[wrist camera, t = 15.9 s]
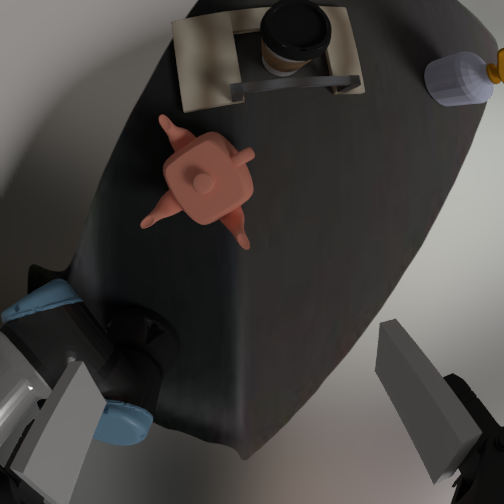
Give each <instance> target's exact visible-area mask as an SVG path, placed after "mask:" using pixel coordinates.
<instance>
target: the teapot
mask: <svg viewBox="0 0 504 504" xmlns="http://www.w3.org/2000/svg"><path fill="white" fill-rule="evenodd" d="M159 122H160V125H161V127H162V128H163V129H164V131H165V132H166V134H167V135H168V138H169V141H170V143H171V145H172V147H173V149H174V151H175V153H174V154H173V155H171V156H170V157H169V158H168V159H167V160H166V162H165V163H164V166H163V174H164V177H165V180H166V183H167V185H168V187H169V190H168V191H167V192H166V193H165V194H164V195H163V196H162V198H161V199H160V200H159V202H158V204H157V206H156V207H155V209H154V210H153V211H152V212H151V213H150V214H149V215H148V216H146V217H145V218H144V219H143V221H142V222H141V225H140V226H141V228H148V227H150V226H151V225H153V224H154V223H155V222H157V221H158V220H160V219H162V218H165V217H168V216H171V215H174V214H176V213H178V212H180V211H182V210H184V211H185V212H186V213H187V214H188V215H189V216H190V217H191V218H192V219H193V220H194V221H196V222H197V223H199V224H202V225H206V224H210V223H212V222H214V221H216V220H218V219H220V220H221V221H222V223H223V224H224V225H225V226H226V228H227V229H228V230H229V231H230V232H231V233H232V234H233V235H234V237H235V238H236V240H237V242H238V243H239V244H240V246H241V247H242V248H244V249H246V250H248V249H249V248H250V243H249V240H248V238H247V236H246V234H245V232H244V213H243V211H242V208H241V205H242V204H243V203H244V202H246V201H247V200H248V199H249V198H250V197H251V195H252V193H253V182H252V178H251V175H250V173H249V170H248V168H247V165H246V162H248V161H250V160H251V159H253V158H254V157H255V153H254V151H253V150H252V149H251V148H250V147H247V148H245V149H244V150H242V151H240V152H238V151H237V150H236V148H235V147H234V146H233V145H232V144H231V143H230V142H229V141H228V140H227V139H226V138H225V137H223V136H222V135H221V134H219V133H217V132H208V133H205V134H203V135H201V136H199V137H197V138H196V137H195V136H194V135H193V134H192V133H191V132H190V131H188V130H186V129H184V128H179V127H177V126H175V125H174V124H173V123H172V122H171V121H170V119H169V118H168V117H166V116H165V115H160V116H159Z"/></svg>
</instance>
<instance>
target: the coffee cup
mask: <svg viewBox="0 0 504 504" xmlns="http://www.w3.org/2000/svg"><path fill="white" fill-rule="evenodd" d="M260 34H261V42H262V61H263V64H264V66H265V68H266V69H267V70H268V71H269V72H270V73H272V74H274V75H277V76H288V75H291V74H293V73H294V72H296V71H297V70H298V69H300V68H301V67H302V66H304V65H305V64H307V63H308V62H309V61H311V60H312V59H314V58H317V57H319V56H320V55H322V54H323V53H324V52H325V51H326V50H327V48H328V46H329V44H330V41H331V34H332V27H331V23H330V20H329V18H328V16H327V15H326V13H325V12H324V11H323V10H322V9H321V8H320V7H319V6H318V5H316V4H315V3H313V2H311V1H309V0H280V1H278V2H277V3H275V4H274V5H273V6H272V7H271V8H269V9H268V10H267V11H266V13H265V14H264V16H263V18H262V20H261V23H260Z"/></svg>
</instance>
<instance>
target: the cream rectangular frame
mask: <svg viewBox="0 0 504 504" xmlns="http://www.w3.org/2000/svg"><path fill="white" fill-rule="evenodd" d="M319 7H320V8H321V9H322V10H323V11H324V12H325V13H326V15H327V16H328V18H329V20H330V23H331V27H332V34H331V41H330V44H329V46H328V48H327V50H326V51H325V55H326V60H327V65H328V70H329V75H330V76H319V77H299V78H285V79H274V80H265V81H256V82H248V83H242V82H241V77H240V71H239V65H238V59H237V54H236V48H235V42H234V36H233V34H241V33H249V32H259V31H260V23H261V20H262V18H263V16H264V14H265V13H266V11H267V10H268V9H269V8H271V7H264V8H252V9H242V10H234V11H226V12H220V13H213V14H207V15H202V16H197V17H192V18H187V19H182V20H178V21H174V22H172V31H173V39H174V47H175V55H176V63H177V70H178V77H179V84H180V91H181V98H182V104H183V111H184V112H185V113H187V112H192V111H197V110H202V109H207V108H213V107H218V106H224V105H230V104H236V103H243V102H244V95H243V94H244V93H251V92H259V91H268V90H277V89H288V88H302V87H319V86H332V91H333V94H363V93H365V89H364V83H363V78H362V73H361V68H360V63H359V58H358V54H357V49H356V45H355V41H354V37H353V33H352V29H351V25H350V21H349V18H348V14H347V11H346V8H344V7H326V6H319Z"/></svg>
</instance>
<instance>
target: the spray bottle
mask: <svg viewBox="0 0 504 504" xmlns="http://www.w3.org/2000/svg"><path fill="white" fill-rule="evenodd" d="M424 80H425V85H426V87H427V89H428V91H429V93H430V95H431V96H432V97H433V99H434V100H436V101H437V102H438V103H440V104H441V105H445V106H455V105H465V104H477V103H485V102H486V101H487V100H488V99H489V98H490V97H491V96H492V93H493V84H498V83H500V81H502V82H503V83H504V48H502V49H500V50H499V51H498V54H497V66H495V65H494V64H492V63H491V64H486V63H485V62H484V61H483V60H482V59H481V58H480V57H479V56H478V55H476V54H474V53H472V52H459V53H456V54H453V55H450V56H446V57H443V58H440V59H437V60H435V61H432V62H431V63H429V64H428V65H427V67H426V69H425V72H424Z"/></svg>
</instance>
